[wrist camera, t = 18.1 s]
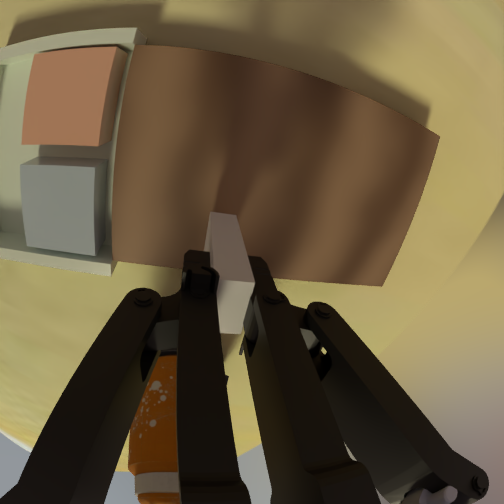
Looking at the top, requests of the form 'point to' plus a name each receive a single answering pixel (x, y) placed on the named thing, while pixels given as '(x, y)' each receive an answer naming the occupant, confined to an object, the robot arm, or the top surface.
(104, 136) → the tile
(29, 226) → the tile
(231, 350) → the top surface
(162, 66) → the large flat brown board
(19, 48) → the tray
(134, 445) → the canister
